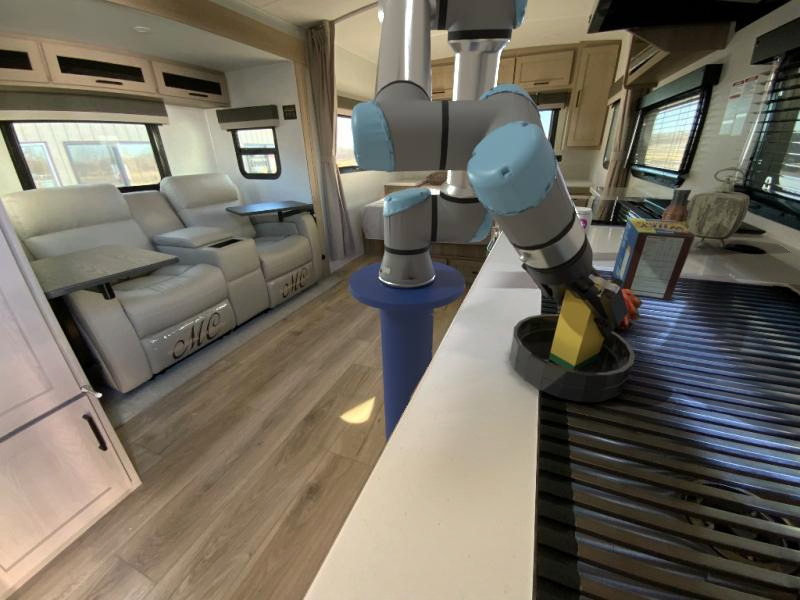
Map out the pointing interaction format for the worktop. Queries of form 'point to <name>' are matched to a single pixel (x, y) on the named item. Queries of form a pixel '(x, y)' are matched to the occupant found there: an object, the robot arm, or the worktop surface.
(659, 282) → the protein box
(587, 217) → the supplement can
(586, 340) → the sponge
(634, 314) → the dragon fruit
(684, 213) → the sauce bottle
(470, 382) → the worktop surface
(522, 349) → the bowl
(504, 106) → the robot arm
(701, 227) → the tabletop clock
